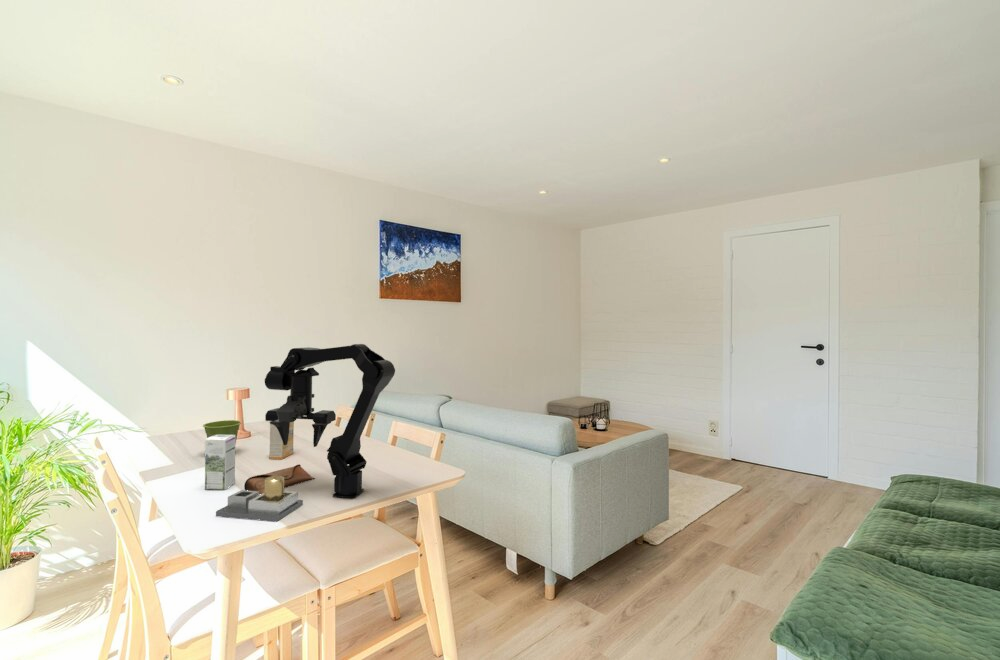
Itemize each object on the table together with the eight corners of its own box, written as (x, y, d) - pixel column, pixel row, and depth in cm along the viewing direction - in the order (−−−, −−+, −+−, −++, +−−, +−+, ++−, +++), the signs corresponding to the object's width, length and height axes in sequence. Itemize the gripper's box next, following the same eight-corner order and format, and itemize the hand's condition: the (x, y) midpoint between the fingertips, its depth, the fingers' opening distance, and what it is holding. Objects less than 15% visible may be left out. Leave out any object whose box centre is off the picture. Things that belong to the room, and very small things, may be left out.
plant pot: (225, 449, 173) (226, 418, 173) (248, 453, 169) (249, 421, 169) (194, 457, 162) (194, 424, 162) (217, 461, 158) (218, 428, 158)
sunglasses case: (262, 495, 127) (255, 472, 129) (248, 504, 130) (241, 481, 132) (317, 478, 143) (310, 457, 144) (304, 486, 146) (297, 466, 147)
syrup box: (235, 483, 137) (236, 433, 136) (224, 490, 131) (225, 438, 131) (215, 483, 136) (216, 433, 136) (203, 490, 130) (204, 438, 130)
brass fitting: (287, 503, 119) (287, 476, 119) (276, 510, 114) (277, 482, 114) (271, 502, 119) (272, 475, 119) (260, 509, 115) (260, 480, 115)
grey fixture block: (302, 504, 122) (303, 490, 122) (276, 521, 111) (276, 506, 111) (246, 499, 124) (247, 486, 124) (215, 516, 113) (216, 501, 113)
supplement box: (282, 459, 161) (283, 421, 161) (268, 459, 161) (269, 421, 161) (294, 453, 170) (294, 417, 169) (281, 453, 170) (281, 417, 170)
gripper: (252, 394, 128) (251, 451, 128) (316, 396, 125) (315, 455, 125) (277, 388, 139) (277, 441, 139) (337, 391, 136) (336, 445, 136)
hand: (300, 445), depth 134 cm, fingers open, 9 cm apart
